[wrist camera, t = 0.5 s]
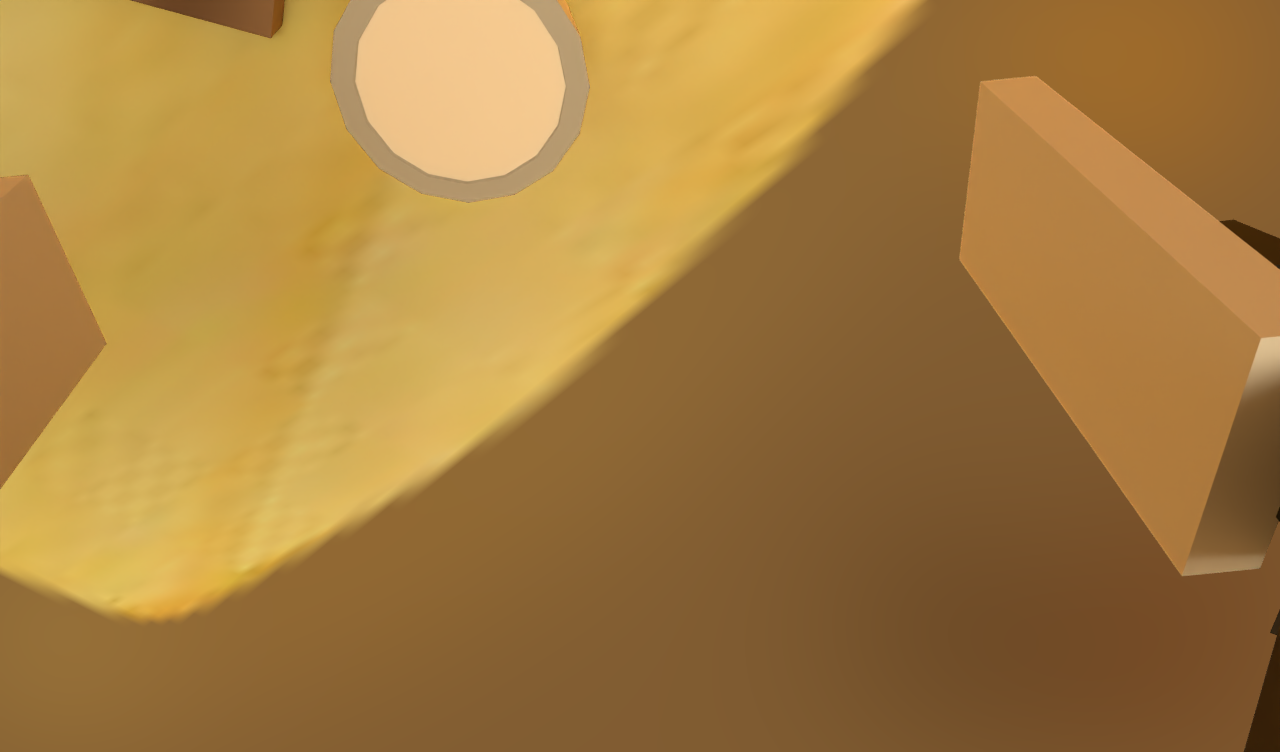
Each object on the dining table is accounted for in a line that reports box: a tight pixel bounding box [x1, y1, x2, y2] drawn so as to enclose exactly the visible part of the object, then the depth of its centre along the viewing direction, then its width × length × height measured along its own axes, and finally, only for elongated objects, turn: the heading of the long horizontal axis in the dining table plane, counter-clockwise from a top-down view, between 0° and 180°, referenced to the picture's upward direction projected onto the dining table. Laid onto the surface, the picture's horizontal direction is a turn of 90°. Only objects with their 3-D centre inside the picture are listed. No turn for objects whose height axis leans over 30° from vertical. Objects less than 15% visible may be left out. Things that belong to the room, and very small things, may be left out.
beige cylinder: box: [330, 0, 590, 203], centre depth 29 cm, size 7×7×7 cm
